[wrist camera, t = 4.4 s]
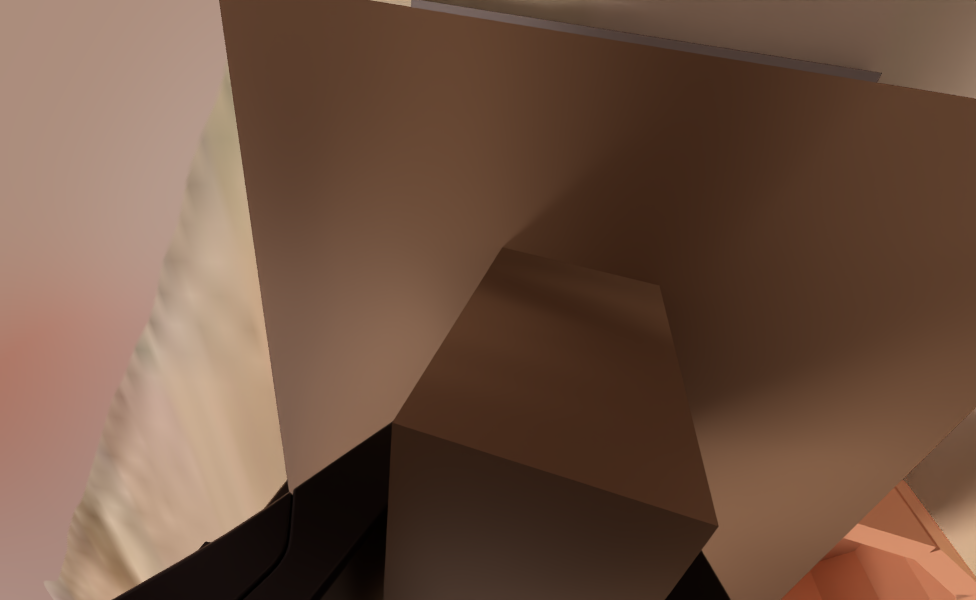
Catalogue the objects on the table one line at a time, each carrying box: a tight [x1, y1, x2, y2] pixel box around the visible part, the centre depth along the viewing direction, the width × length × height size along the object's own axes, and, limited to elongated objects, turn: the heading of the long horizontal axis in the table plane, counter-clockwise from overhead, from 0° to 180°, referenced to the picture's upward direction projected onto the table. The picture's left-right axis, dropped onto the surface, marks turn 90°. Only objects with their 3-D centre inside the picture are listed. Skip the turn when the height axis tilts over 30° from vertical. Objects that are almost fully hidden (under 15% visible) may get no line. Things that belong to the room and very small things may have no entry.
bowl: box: [781, 479, 976, 600], centre depth 18 cm, size 10×10×5 cm
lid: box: [219, 0, 976, 600], centre depth 7 cm, size 12×12×5 cm
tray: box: [411, 0, 882, 83], centre depth 16 cm, size 14×14×1 cm
